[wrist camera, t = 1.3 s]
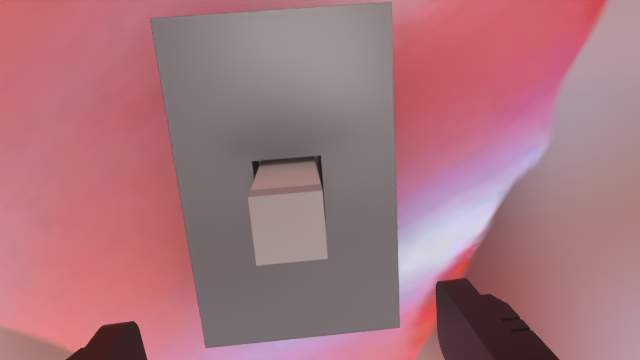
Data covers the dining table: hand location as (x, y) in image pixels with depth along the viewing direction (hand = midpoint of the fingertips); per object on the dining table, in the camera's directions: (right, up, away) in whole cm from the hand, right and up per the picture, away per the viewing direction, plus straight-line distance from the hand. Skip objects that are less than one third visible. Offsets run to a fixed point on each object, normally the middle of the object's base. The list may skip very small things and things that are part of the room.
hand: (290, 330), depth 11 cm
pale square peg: (-1, +4, +19) cm, 20 cm away
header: (-1, +4, +20) cm, 20 cm away
